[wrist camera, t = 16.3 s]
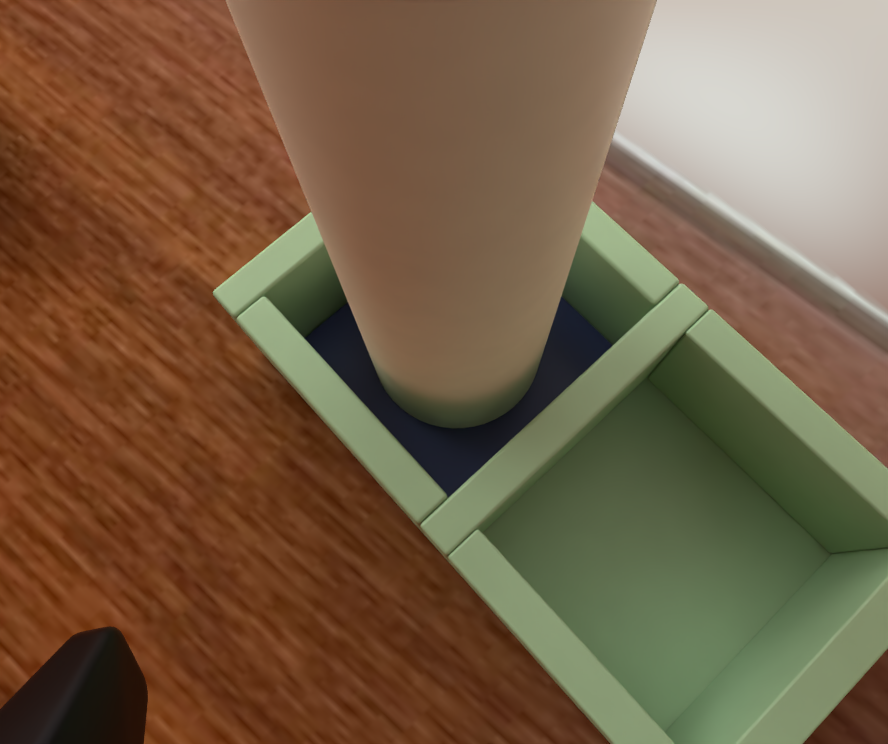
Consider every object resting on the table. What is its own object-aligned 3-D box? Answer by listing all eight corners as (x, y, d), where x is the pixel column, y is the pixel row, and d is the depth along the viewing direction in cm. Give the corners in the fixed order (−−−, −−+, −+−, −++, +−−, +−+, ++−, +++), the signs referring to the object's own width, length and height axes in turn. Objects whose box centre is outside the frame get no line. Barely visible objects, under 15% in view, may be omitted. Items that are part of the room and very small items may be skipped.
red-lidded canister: (540, 436, 16) (822, -155, 3) (363, 426, 16) (-8, -175, 3) (544, 271, 17) (776, -658, 4) (379, 264, 17) (136, -653, 4)
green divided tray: (865, 558, 16) (979, 548, 12) (651, 789, 15) (708, 851, 11) (466, 179, 18) (466, 84, 15) (261, 351, 17) (209, 291, 14)
